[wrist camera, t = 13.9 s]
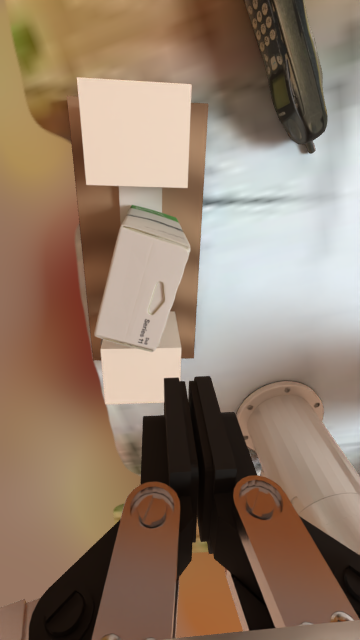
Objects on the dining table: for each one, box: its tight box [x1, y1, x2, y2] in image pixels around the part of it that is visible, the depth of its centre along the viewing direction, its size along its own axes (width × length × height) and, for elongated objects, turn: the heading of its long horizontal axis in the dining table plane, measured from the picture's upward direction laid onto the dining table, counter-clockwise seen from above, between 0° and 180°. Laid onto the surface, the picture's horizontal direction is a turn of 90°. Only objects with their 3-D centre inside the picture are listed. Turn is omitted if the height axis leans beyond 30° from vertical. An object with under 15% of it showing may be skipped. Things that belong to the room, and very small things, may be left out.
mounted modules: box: [77, 77, 192, 404], centre depth 28 cm, size 25×7×8 cm, turn 178°
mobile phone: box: [244, 0, 327, 154], centre depth 26 cm, size 5×3×15 cm
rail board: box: [67, 96, 208, 360], centre depth 33 cm, size 26×12×2 cm, turn 178°
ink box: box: [94, 205, 190, 352], centre depth 27 cm, size 9×5×12 cm, turn 162°
